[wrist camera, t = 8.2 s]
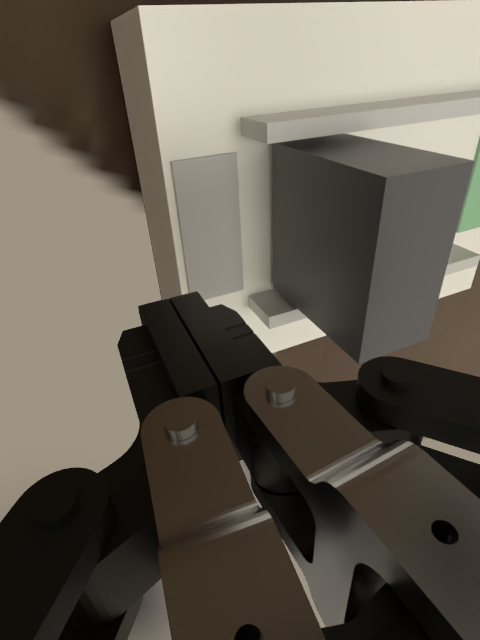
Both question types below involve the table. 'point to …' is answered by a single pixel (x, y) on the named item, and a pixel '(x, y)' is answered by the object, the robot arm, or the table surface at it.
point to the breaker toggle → (364, 236)
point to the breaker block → (284, 126)
